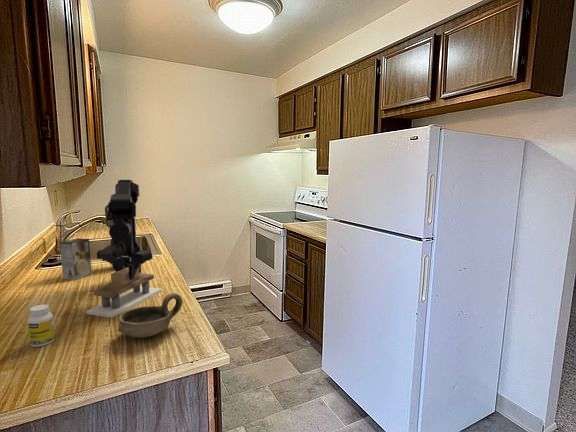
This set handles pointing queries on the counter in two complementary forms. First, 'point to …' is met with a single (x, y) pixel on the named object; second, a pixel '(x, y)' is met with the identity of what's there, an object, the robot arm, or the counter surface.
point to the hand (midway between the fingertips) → (126, 278)
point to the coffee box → (75, 258)
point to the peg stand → (123, 301)
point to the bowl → (149, 318)
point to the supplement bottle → (40, 326)
